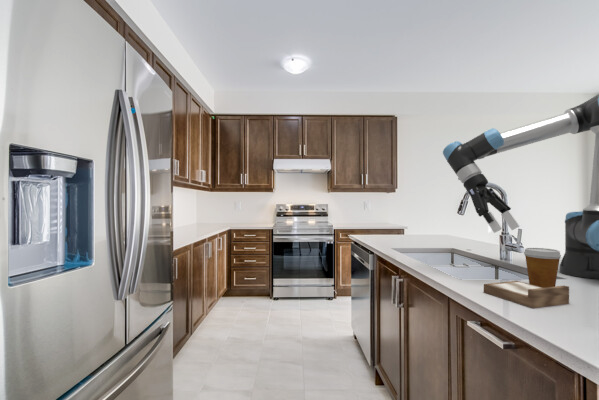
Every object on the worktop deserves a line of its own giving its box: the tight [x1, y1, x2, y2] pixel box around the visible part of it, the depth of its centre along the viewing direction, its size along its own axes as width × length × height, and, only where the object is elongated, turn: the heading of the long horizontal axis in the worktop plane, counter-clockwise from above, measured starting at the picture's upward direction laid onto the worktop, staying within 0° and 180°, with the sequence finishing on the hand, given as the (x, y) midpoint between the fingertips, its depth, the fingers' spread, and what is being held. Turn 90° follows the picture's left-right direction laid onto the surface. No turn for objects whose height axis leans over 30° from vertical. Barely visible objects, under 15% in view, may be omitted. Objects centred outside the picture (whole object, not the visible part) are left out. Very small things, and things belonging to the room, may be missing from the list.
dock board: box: [483, 280, 570, 309], centre depth 93 cm, size 13×15×4 cm
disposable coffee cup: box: [523, 247, 562, 288], centre depth 103 cm, size 10×10×12 cm
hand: (507, 229), depth 111 cm, fingers open, 13 cm apart
